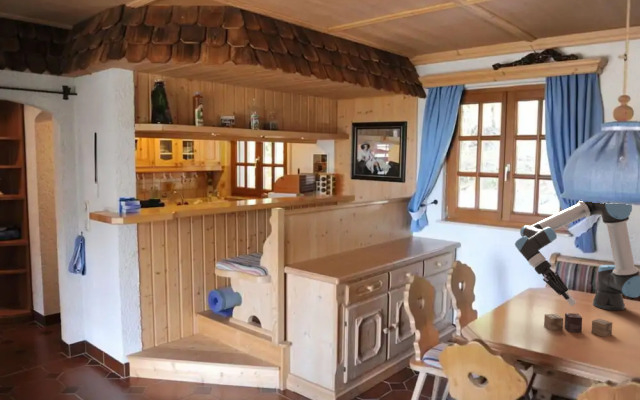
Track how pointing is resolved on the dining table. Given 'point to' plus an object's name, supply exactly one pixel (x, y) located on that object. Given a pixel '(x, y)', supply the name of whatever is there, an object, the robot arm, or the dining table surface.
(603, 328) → the marked block one
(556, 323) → the marked block two
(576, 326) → the box
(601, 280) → the robot arm
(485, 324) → the dining table surface
